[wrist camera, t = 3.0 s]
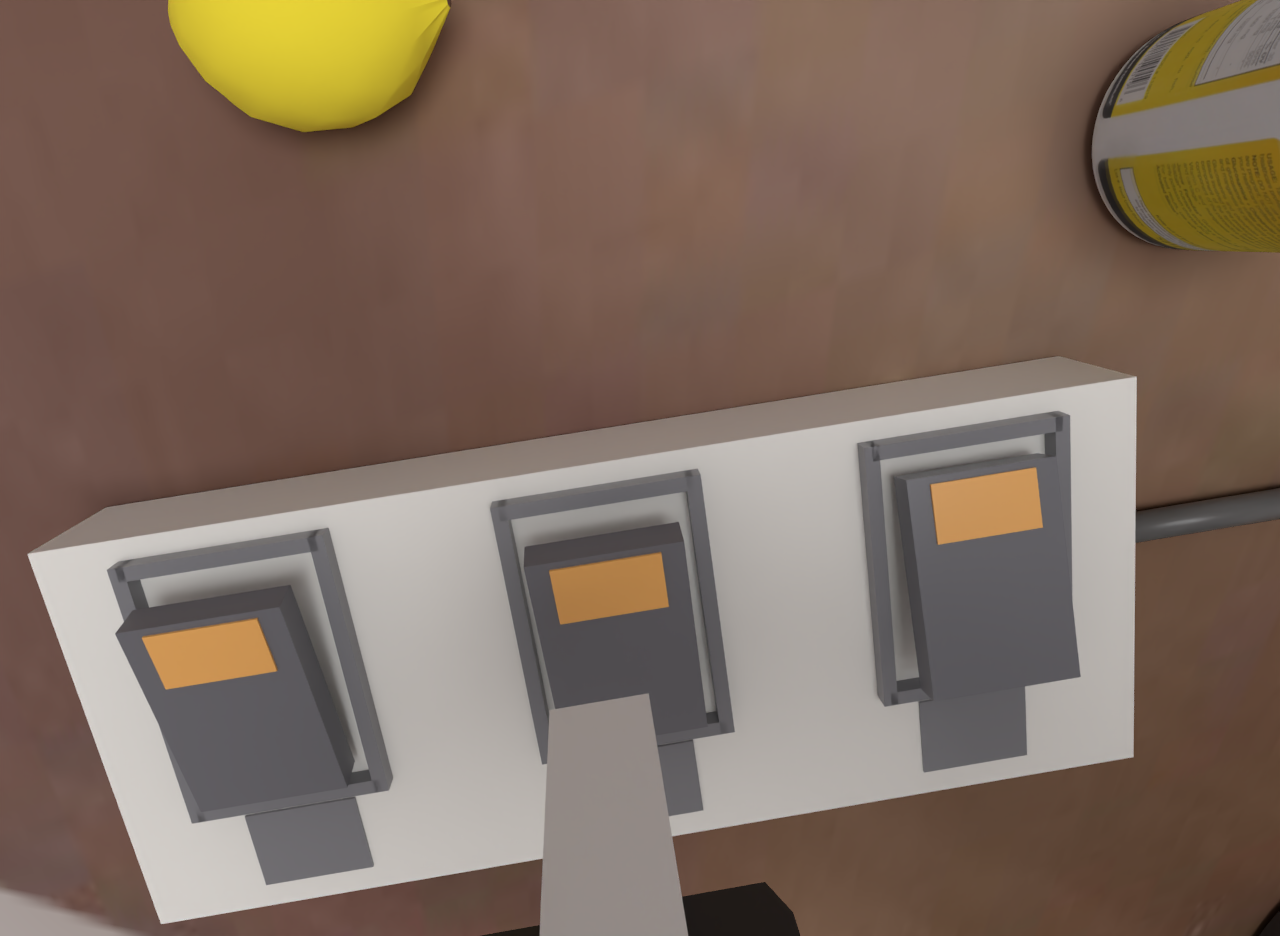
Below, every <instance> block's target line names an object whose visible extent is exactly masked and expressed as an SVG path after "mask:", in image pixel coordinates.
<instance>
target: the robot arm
mask: <svg viewBox="0 0 1280 936" xmlns="http://www.w3.org/2000/svg"><path fill="white" fill-rule="evenodd" d="M482 936H800V933H799V930H798V927H797V924H796V920H795V917H794V914H793V912H792V911H791V910H790V909H789V908H788V907H787V905H786V904H785V903H784V902H783V901H782V900H781V899H780V898H779V897H778V896H777V895H776V894H775V892H774V891H773V890H772V889H771V888H770V887H769V886H768V885H767V884H766V883H765V882H763V883H757V884H751V885H746V886H740V887H735V888H729V889H723V890H718V891H712V892H707V893H701V894H695V895H690V896H684V897H682V894H681V888H680V882H679V876H678V870H677V864H676V858H675V851H674V845H673V839H672V833H671V827H670V821H669V815H668V809H667V803H666V796H665V790H664V784H663V778H662V772H661V766H660V760H659V754H658V748H657V741H656V735H655V729H654V723H653V717H652V711H651V705H650V699H649V693H647V694H641V695H635V696H630V697H624V698H618V699H612V700H606V701H600V702H594V703H589V704H583V705H577V706H571V707H565V708H559V709H553V710H549V733H548V755H547V778H546V801H545V823H544V846H543V869H542V891H541V914H540V925H538V926H533V927H527V928H521V929H516V930H510V931H505V932H499V933H493V934H488V935H482ZM1259 936H1280V911H1279V912H1278V913H1277V914H1276V915H1275V916H1274V917H1273V918H1272V920H1271V921H1270V922H1269V923H1268V925H1267V926H1266V927H1265V928H1264V930H1263V931H1262V933H1261V934H1260V935H1259Z"/></svg>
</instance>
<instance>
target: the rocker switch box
mask: <svg viewBox="0 0 1280 936" xmlns="http://www.w3.org/2000/svg"><path fill="white" fill-rule="evenodd" d="M1136 400H1137V377H1136V376H1132V375H1129V374H1125V373H1121V372H1117V371H1114V370H1110V369H1106V368H1102V367H1098V366H1095V365H1091V364H1087V363H1083V362H1080V361H1076V360H1072V359H1068V358H1064V357H1061V356H1056V357H1050V358H1043V359H1037V360H1031V361H1025V362H1018V363H1012V364H1006V365H999V366H993V367H987V368H981V369H974V370H968V371H962V372H955V373H949V374H943V375H936V376H930V377H924V378H918V379H911V380H905V381H899V382H892V383H886V384H880V385H873V386H867V387H861V388H855V389H848V390H842V391H836V392H829V393H823V394H817V395H810V396H804V397H798V398H792V399H785V400H779V401H773V402H766V403H760V404H754V405H747V406H741V407H735V408H729V409H722V410H716V411H710V412H703V413H697V414H691V415H684V416H678V417H672V418H666V419H659V420H653V421H647V422H640V423H634V424H628V425H621V426H615V427H609V428H603V429H596V430H590V431H584V432H577V433H571V434H565V435H558V436H552V437H546V438H540V439H533V440H527V441H521V442H514V443H508V444H502V445H495V446H489V447H483V448H477V449H470V450H464V451H458V452H451V453H445V454H439V455H433V456H426V457H420V458H414V459H407V460H401V461H395V462H388V463H382V464H376V465H370V466H363V467H357V468H351V469H344V470H338V471H332V472H325V473H319V474H313V475H307V476H300V477H294V478H288V479H281V480H275V481H269V482H262V483H256V484H250V485H244V486H237V487H231V488H225V489H218V490H212V491H206V492H199V493H193V494H187V495H181V496H174V497H168V498H162V499H155V500H149V501H143V502H136V503H130V504H124V505H118V506H111V507H106V508H104V509H103V510H101V511H99V512H97V513H96V514H94V515H92V516H91V517H89V518H87V519H86V520H84V521H82V522H81V523H79V524H77V525H75V526H74V527H72V528H70V529H69V530H67V531H65V532H64V533H62V534H60V535H58V536H57V537H55V538H53V539H52V540H50V541H48V542H47V543H45V544H43V545H42V546H40V547H38V548H36V549H35V550H33V551H31V552H30V553H28V557H29V560H30V563H31V565H32V568H33V571H34V574H35V577H36V579H37V582H38V585H39V588H40V590H41V593H42V596H43V599H44V601H45V604H46V607H47V610H48V612H49V615H50V618H51V621H52V624H53V626H54V629H55V632H56V635H57V637H58V640H59V643H60V646H61V648H62V651H63V654H64V657H65V660H66V662H67V665H68V668H69V671H70V673H71V676H72V679H73V682H74V684H75V687H76V690H77V693H78V695H79V698H80V701H81V704H82V707H83V709H84V712H85V715H86V718H87V720H88V723H89V726H90V729H91V731H92V734H93V737H94V740H95V743H96V745H97V748H98V751H99V754H100V756H101V759H102V762H103V765H104V767H105V770H106V773H107V776H108V779H109V781H110V784H111V787H112V790H113V792H114V795H115V798H116V801H117V803H118V806H119V809H120V812H121V814H122V817H123V820H124V823H125V826H126V828H127V831H128V834H129V837H130V839H131V842H132V845H133V848H134V850H135V853H136V856H137V859H138V862H139V864H140V867H141V870H142V873H143V875H144V878H145V881H146V884H147V886H148V889H149V892H150V895H151V898H152V900H153V903H154V906H155V909H156V911H157V914H158V917H159V920H160V922H161V924H165V923H171V922H177V921H182V920H188V919H194V918H200V917H206V916H211V915H217V914H223V913H229V912H235V911H241V910H246V909H252V908H258V907H264V906H270V905H275V904H281V903H287V902H293V901H299V900H305V899H310V898H316V897H322V896H328V895H334V894H340V893H345V892H351V891H357V890H363V889H369V888H374V887H380V886H386V885H392V884H398V883H404V882H409V881H415V880H421V879H427V878H433V877H438V876H444V875H450V874H456V873H462V872H468V871H473V870H479V869H485V868H491V867H497V866H502V865H508V864H514V863H520V862H526V861H532V860H537V859H543V846H544V823H545V801H546V778H547V755H548V733H549V710H553V709H555V706H554V701H553V697H552V692H551V688H550V683H549V679H548V674H547V670H546V666H545V661H544V657H543V652H542V648H541V643H540V639H539V634H538V630H537V625H536V621H535V616H534V612H533V608H532V603H531V599H530V594H529V590H528V585H527V581H526V576H525V572H524V548H525V547H526V546H532V545H539V544H545V543H551V542H557V541H563V540H569V539H576V538H582V537H588V536H594V535H600V534H606V533H613V532H619V531H625V530H631V529H637V528H643V527H650V526H656V525H662V524H668V523H674V522H679V525H680V528H681V532H682V535H683V539H684V544H685V552H686V560H687V568H688V576H689V584H690V591H691V599H692V607H693V615H694V623H695V631H696V638H697V646H698V654H699V662H700V670H701V678H702V685H703V693H704V701H705V709H706V717H707V725H708V727H704V728H698V729H692V730H686V731H680V732H674V733H668V734H663V735H657V736H656V741H657V748H658V754H659V760H660V766H661V772H662V778H663V784H664V790H665V796H666V803H667V809H668V815H669V821H670V827H671V833H672V836H677V835H683V834H689V833H695V832H700V831H706V830H712V829H718V828H724V827H729V826H735V825H741V824H747V823H753V822H759V821H764V820H770V819H776V818H782V817H788V816H794V815H799V814H805V813H811V812H817V811H823V810H828V809H834V808H840V807H846V806H852V805H858V804H863V803H869V802H875V801H881V800H887V799H892V798H898V797H904V796H910V795H916V794H922V793H927V792H933V791H939V790H945V789H951V788H956V787H962V786H968V785H974V784H980V783H986V782H991V781H997V780H1003V779H1009V778H1015V777H1021V776H1026V775H1032V774H1038V773H1044V772H1050V771H1055V770H1061V769H1067V768H1073V767H1079V766H1085V765H1090V764H1096V763H1102V762H1108V761H1114V760H1119V759H1125V758H1131V757H1133V750H1134V634H1135V543H1137V542H1143V541H1150V540H1156V539H1162V538H1168V537H1174V536H1180V535H1186V534H1192V533H1198V532H1204V531H1210V530H1216V529H1222V528H1228V527H1234V526H1240V525H1246V524H1253V523H1259V522H1265V521H1271V520H1277V519H1280V488H1277V489H1271V490H1265V491H1259V492H1253V493H1247V494H1240V495H1234V496H1228V497H1222V498H1216V499H1210V500H1204V501H1198V502H1192V503H1186V504H1179V505H1173V506H1167V507H1161V508H1155V509H1149V510H1143V511H1137V512H1136ZM1035 453H1040V454H1047V455H1053V456H1057V465H1058V474H1059V483H1060V492H1061V501H1062V511H1063V520H1064V529H1065V538H1066V547H1067V556H1068V565H1069V575H1070V584H1071V593H1072V602H1073V611H1074V620H1075V630H1076V639H1077V648H1078V657H1079V666H1080V675H1081V677H1078V678H1072V679H1066V680H1060V681H1054V682H1048V683H1042V684H1036V685H1030V686H1025V687H1019V688H1013V689H1007V690H1001V691H995V692H989V693H983V694H977V695H971V696H965V697H959V698H954V699H948V700H942V701H936V702H934V701H933V700H932V699H931V698H930V697H929V696H928V695H927V694H926V693H925V692H924V691H922V690H921V687H920V679H919V672H918V664H917V656H916V648H915V640H914V633H913V625H912V617H911V609H910V601H909V594H908V586H907V578H906V570H905V563H904V555H903V547H902V539H901V531H900V524H899V516H898V508H897V500H896V492H895V485H894V477H893V476H899V475H905V474H911V473H917V472H923V471H930V470H936V469H942V468H948V467H954V466H961V465H967V464H973V463H979V462H985V461H991V460H998V459H1004V458H1010V457H1016V456H1022V455H1029V454H1035ZM286 585H291V587H292V590H293V593H294V596H295V598H296V601H297V604H298V607H299V609H300V612H301V615H302V617H303V620H304V623H305V626H306V628H307V631H308V634H309V637H310V639H311V642H312V645H313V648H314V650H315V653H316V656H317V659H318V661H319V664H320V667H321V670H322V672H323V675H324V678H325V681H326V683H327V686H328V689H329V692H330V694H331V697H332V700H333V703H334V705H335V708H336V711H337V713H338V716H339V719H340V722H341V724H342V727H343V730H344V733H345V735H346V738H347V741H348V744H349V746H350V749H351V752H352V755H353V757H354V760H355V762H354V766H353V770H352V773H351V777H350V780H349V784H348V788H342V789H336V790H330V791H324V792H318V793H313V794H307V795H301V796H295V797H289V798H283V799H277V800H271V801H265V802H259V803H253V804H247V805H241V806H235V807H230V808H224V809H218V810H212V811H206V812H201V811H200V809H199V807H198V805H197V803H196V801H195V799H194V797H193V794H192V792H191V790H190V788H189V786H188V784H187V782H186V780H185V778H184V776H183V774H182V772H181V770H180V768H179V765H178V763H177V761H176V759H175V757H174V755H173V753H172V751H171V749H170V747H169V745H168V743H167V741H166V739H165V737H164V734H163V732H162V730H161V728H160V726H159V724H158V722H157V720H156V718H155V716H154V714H153V712H152V710H151V708H150V705H149V703H148V701H147V699H146V697H145V695H144V693H143V691H142V689H141V687H140V685H139V683H138V681H137V679H136V676H135V674H134V672H133V670H132V668H131V666H130V664H129V662H128V660H127V658H126V656H125V654H124V652H123V650H122V647H121V645H120V643H119V641H118V639H117V637H116V635H115V633H116V632H117V630H118V629H119V628H120V626H121V625H122V624H123V622H124V621H125V620H126V618H127V617H128V616H129V614H130V613H131V612H132V610H137V609H144V608H150V607H156V606H162V605H168V604H174V603H181V602H187V601H193V600H199V599H205V598H212V597H218V596H224V595H230V594H236V593H242V592H249V591H255V590H261V589H267V588H273V587H279V586H286Z"/></svg>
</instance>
